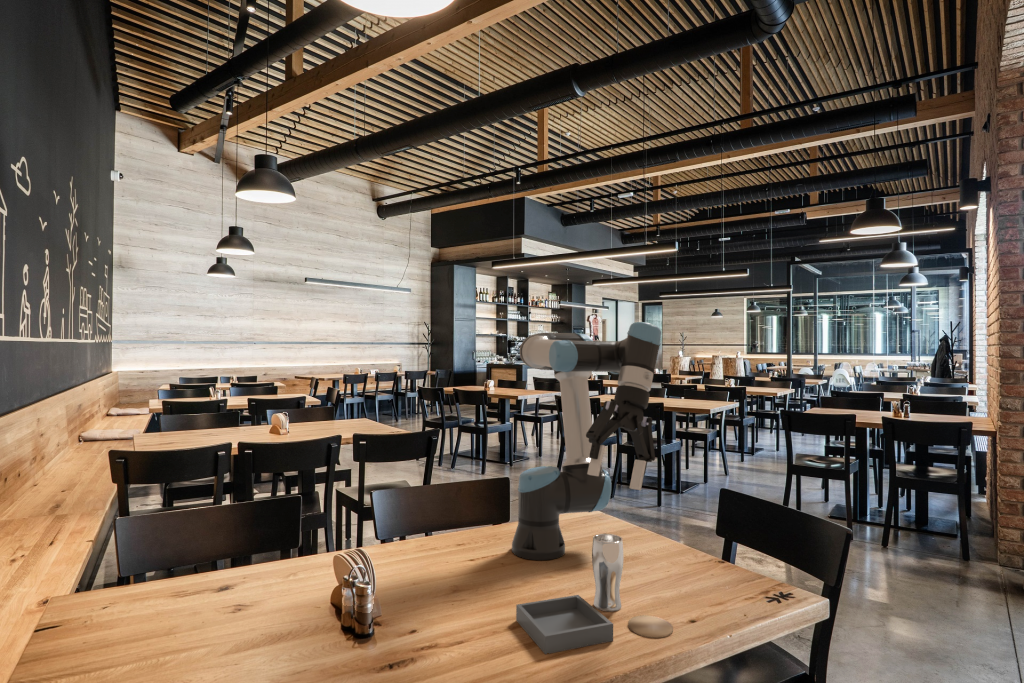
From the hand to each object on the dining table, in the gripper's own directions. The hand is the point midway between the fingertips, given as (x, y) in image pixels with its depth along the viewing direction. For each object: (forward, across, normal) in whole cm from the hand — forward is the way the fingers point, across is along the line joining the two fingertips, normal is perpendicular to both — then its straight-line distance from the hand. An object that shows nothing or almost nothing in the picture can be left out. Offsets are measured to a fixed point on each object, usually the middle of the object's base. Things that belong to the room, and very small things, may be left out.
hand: (614, 482), depth 124 cm
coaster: (+26, +11, -7) cm, 30 cm away
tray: (+31, -4, +2) cm, 31 cm away
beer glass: (+26, +11, +5) cm, 29 cm away
